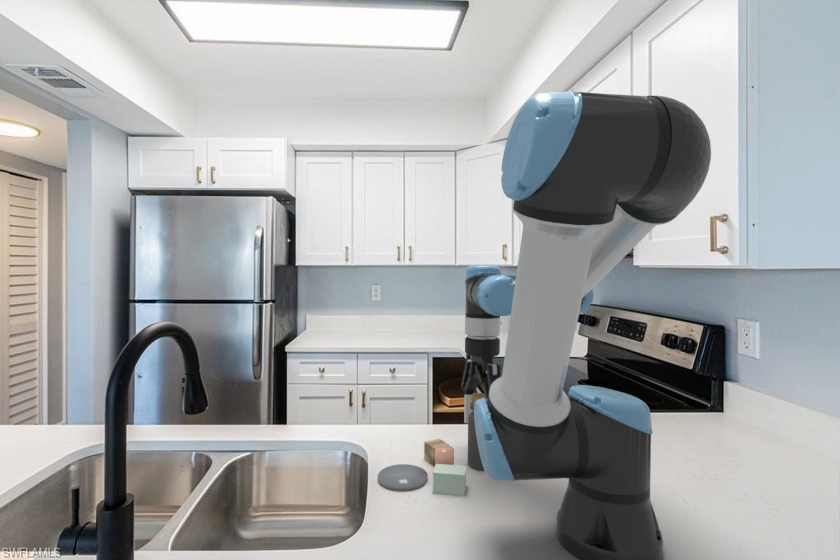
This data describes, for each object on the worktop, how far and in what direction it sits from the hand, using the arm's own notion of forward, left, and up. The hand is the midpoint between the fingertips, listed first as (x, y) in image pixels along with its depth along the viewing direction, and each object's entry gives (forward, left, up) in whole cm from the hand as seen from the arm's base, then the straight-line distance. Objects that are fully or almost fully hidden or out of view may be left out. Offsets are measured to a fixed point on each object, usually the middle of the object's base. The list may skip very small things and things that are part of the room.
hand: (481, 433), depth 95 cm
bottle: (0, 0, -7) cm, 7 cm away
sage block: (-9, +10, -7) cm, 15 cm away
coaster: (-3, +18, -7) cm, 20 cm away
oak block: (+4, +9, -7) cm, 12 cm away
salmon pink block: (-2, +9, -7) cm, 12 cm away
